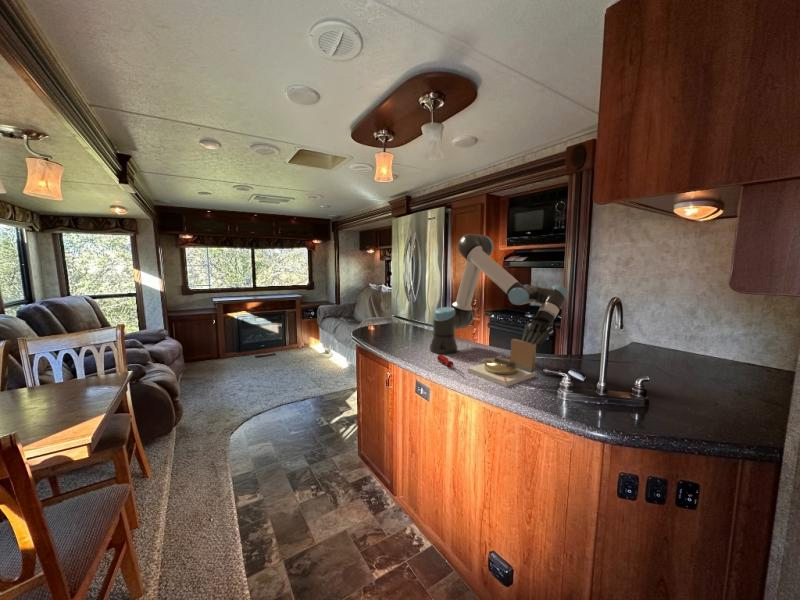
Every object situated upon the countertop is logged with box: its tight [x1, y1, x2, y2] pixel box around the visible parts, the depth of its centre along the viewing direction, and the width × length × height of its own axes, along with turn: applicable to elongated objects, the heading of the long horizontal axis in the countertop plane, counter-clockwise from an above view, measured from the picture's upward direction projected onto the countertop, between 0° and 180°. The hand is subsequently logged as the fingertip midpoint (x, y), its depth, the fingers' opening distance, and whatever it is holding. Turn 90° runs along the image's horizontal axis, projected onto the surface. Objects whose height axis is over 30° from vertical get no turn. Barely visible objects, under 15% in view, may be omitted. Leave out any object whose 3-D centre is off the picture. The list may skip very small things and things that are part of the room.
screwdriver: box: [436, 353, 465, 376], centre depth 146 cm, size 4×25×4 cm, turn 17°
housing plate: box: [467, 362, 536, 388], centre depth 138 cm, size 20×20×2 cm
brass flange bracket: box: [484, 338, 537, 375], centre depth 134 cm, size 22×14×15 cm, turn 35°
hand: (521, 358), depth 132 cm, fingers closed
